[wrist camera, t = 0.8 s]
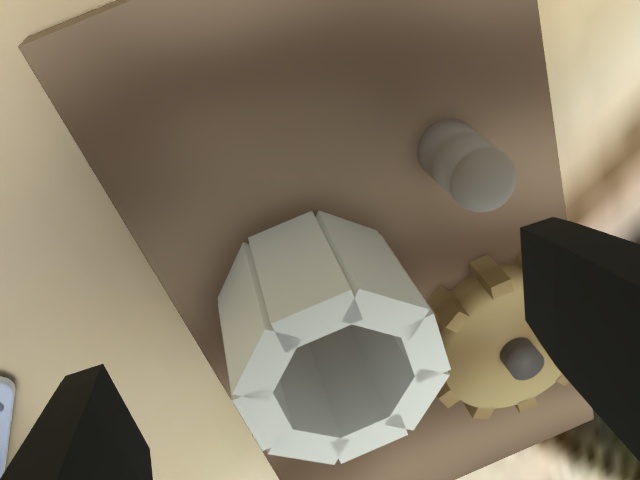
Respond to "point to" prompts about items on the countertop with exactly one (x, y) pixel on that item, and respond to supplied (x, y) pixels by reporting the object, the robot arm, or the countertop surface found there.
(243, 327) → the hollow cylinder
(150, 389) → the countertop surface
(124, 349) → the countertop surface
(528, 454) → the countertop surface
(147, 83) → the gear board
